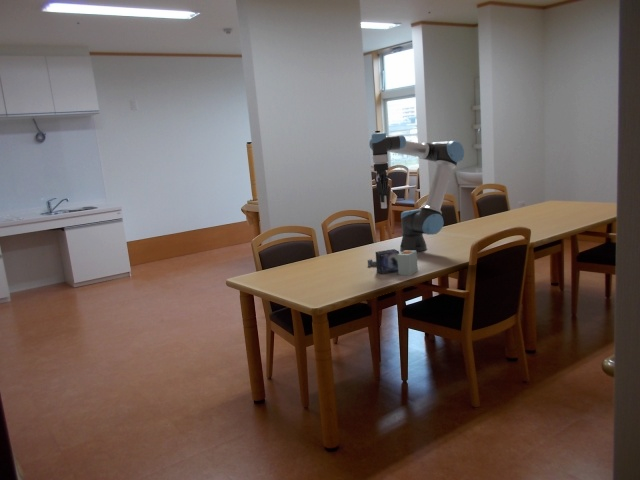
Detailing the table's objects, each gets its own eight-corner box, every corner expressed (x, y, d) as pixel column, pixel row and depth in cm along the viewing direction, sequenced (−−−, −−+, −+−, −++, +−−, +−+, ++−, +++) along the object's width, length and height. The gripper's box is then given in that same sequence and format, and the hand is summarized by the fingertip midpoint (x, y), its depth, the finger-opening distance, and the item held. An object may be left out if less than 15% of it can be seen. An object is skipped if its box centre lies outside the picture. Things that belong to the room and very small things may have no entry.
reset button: (405, 260, 269) (404, 250, 268) (412, 260, 267) (411, 250, 266) (402, 262, 266) (401, 252, 265) (409, 262, 264) (408, 252, 263)
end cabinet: (406, 269, 273) (405, 250, 271) (417, 270, 270) (416, 250, 268) (398, 274, 265) (397, 254, 263) (410, 275, 261) (408, 255, 260)
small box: (381, 274, 268) (379, 254, 266) (376, 272, 274) (374, 251, 273) (400, 271, 271) (399, 250, 269) (395, 268, 277) (394, 248, 275)
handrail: (370, 265, 290) (369, 259, 289) (410, 266, 278) (410, 260, 277) (368, 266, 288) (367, 260, 287) (409, 267, 276) (408, 261, 275)
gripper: (379, 162, 290) (382, 206, 294) (368, 164, 279) (372, 210, 283) (392, 161, 286) (395, 206, 290) (382, 163, 275) (385, 210, 279)
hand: (384, 208), depth 286 cm, fingers closed
